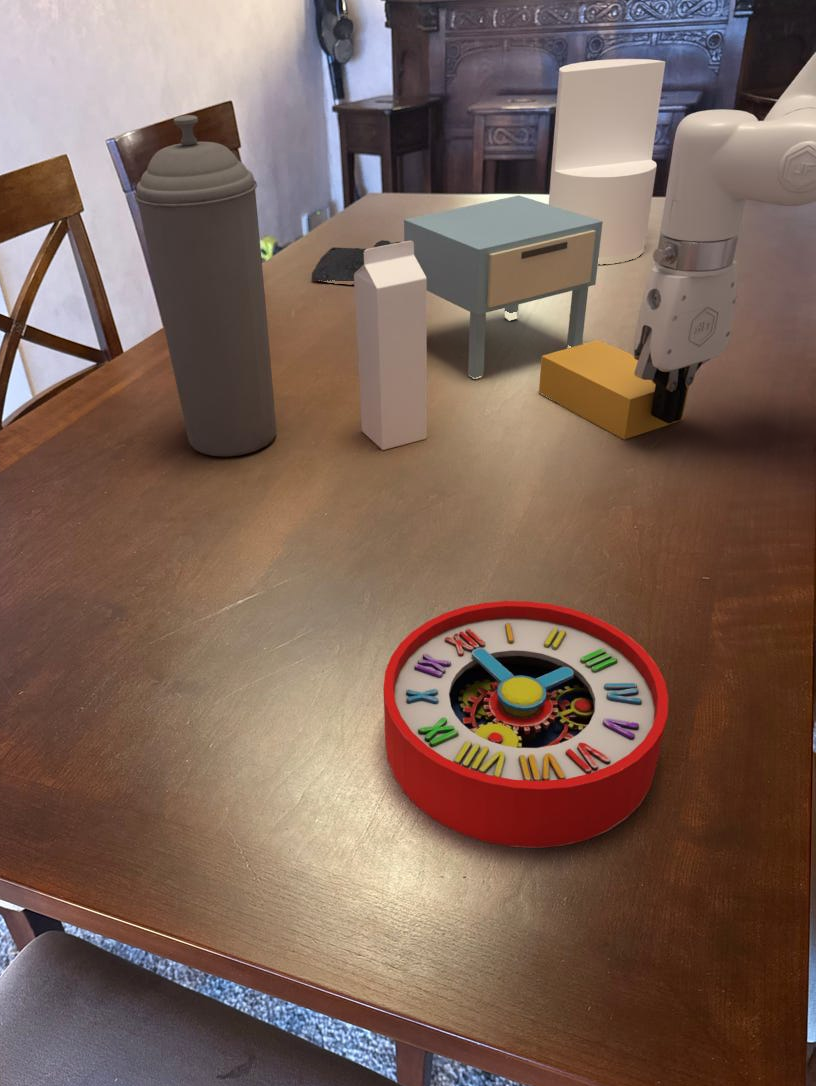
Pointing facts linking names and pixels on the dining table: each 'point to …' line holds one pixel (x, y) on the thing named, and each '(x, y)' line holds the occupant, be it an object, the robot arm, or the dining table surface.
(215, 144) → the canister
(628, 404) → the yellow rectangular block
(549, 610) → the toy clock
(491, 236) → the drawer unit
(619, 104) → the cylinder
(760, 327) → the dining table surface
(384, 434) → the milk
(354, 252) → the dark slate chunk
